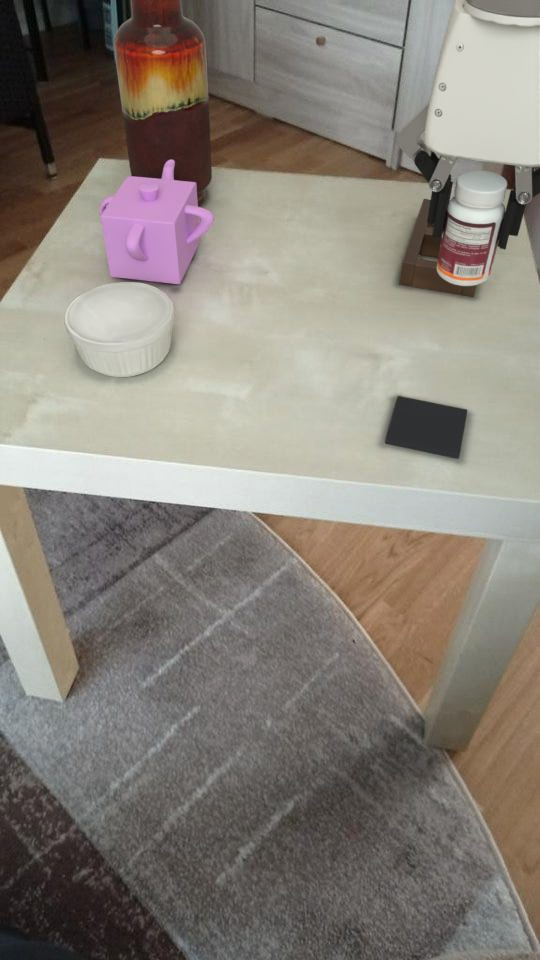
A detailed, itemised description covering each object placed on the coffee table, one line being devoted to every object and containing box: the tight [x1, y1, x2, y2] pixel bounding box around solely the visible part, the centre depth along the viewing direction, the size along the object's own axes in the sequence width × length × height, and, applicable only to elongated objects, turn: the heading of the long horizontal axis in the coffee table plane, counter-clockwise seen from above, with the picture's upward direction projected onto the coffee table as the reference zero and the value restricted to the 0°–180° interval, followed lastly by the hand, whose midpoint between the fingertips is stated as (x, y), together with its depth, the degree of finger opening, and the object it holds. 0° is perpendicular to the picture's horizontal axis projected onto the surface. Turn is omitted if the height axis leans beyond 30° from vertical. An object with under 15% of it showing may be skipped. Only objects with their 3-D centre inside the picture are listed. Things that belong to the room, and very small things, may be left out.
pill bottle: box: [437, 169, 508, 286], centre depth 62 cm, size 5×5×8 cm
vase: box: [113, 0, 213, 207], centre depth 93 cm, size 11×11×26 cm
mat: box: [384, 395, 468, 459], centre depth 72 cm, size 7×7×1 cm
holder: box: [398, 198, 478, 298], centre depth 92 cm, size 9×16×3 cm, turn 163°
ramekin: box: [63, 281, 176, 378], centre depth 78 cm, size 11×11×5 cm
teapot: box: [98, 160, 215, 285], centre depth 88 cm, size 18×14×10 cm
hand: (470, 234), depth 63 cm, fingers closed on pill bottle, 4 cm apart
